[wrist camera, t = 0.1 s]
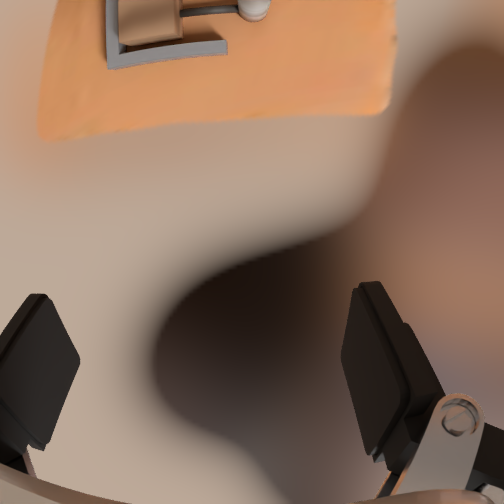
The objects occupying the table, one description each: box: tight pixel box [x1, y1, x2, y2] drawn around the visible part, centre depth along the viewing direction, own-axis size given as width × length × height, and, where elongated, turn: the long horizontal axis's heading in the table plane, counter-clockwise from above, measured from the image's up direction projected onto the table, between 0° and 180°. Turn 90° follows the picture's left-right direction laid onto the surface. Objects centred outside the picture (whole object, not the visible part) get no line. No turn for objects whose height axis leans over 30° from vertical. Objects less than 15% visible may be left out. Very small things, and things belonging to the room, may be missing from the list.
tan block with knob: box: [118, 0, 271, 47], centre depth 25 cm, size 6×16×6 cm, turn 92°
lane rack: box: [106, 0, 228, 70], centre depth 27 cm, size 11×14×2 cm
